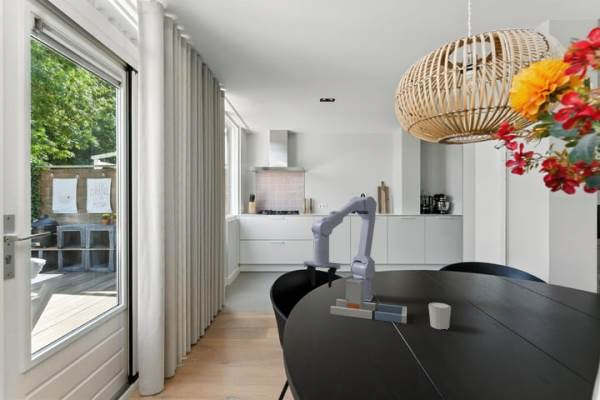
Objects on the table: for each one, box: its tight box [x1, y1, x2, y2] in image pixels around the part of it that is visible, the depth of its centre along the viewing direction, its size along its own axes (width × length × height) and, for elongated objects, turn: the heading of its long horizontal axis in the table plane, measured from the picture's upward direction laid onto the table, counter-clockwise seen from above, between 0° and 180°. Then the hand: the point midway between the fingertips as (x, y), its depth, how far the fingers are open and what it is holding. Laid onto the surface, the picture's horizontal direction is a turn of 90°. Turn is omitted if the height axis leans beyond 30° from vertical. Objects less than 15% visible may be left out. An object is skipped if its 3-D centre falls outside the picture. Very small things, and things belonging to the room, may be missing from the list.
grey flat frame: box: [329, 298, 408, 324], centre depth 116 cm, size 11×26×2 cm, turn 70°
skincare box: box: [345, 278, 365, 310], centre depth 118 cm, size 6×4×12 cm
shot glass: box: [428, 301, 452, 330], centre depth 104 cm, size 7×7×7 cm
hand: (321, 286), depth 122 cm, fingers open, 6 cm apart
